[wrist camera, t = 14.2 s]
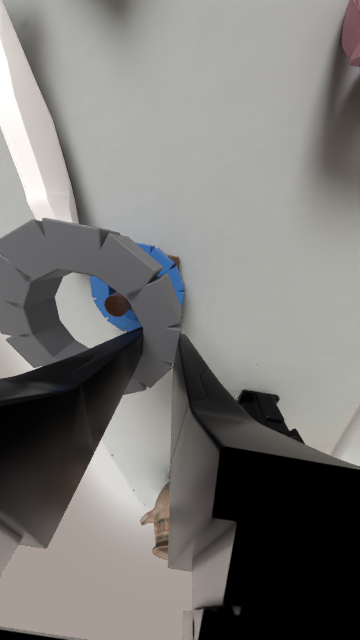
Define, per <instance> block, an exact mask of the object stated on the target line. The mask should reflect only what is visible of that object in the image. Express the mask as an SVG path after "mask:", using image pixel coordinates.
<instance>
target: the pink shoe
mask: <svg viewBox="0 0 360 640" xmlns="http://www.w3.org/2000/svg"><path fill="white" fill-rule="evenodd" d="M342 46H343V49H344V51H345V53H346V55H347V56H348V58H349V59H350V62H349V64H350V65H353V66H358V67H360V0H350V1H349V4H348V7H347V10H346V14H345V18H344V23H343V29H342Z"/></svg>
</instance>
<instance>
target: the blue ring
mask: <svg viewBox="0 0 360 640" xmlns="http://www.w3.org/2000/svg"><path fill="white" fill-rule="evenodd" d="M136 244H137V245H138V246H139V247H140V248H142V249H143V250H144V251H145V252H146V253H147V254H149V255H150V256H151V257H152V258H153V259H155V260H156V261H157V262H158V263H159V264H160V265H162V266H163V269H162V270H161V272H160V273H159V274H158V277H159V276H161V275H164V274H166V273H168V275H169V277H170V280H171V282H172V285H173V288H174V290H175V293H176V295H177V298H178V300H179V303H180V305H181V308H182V303H183V297H184V291H185V289H184V283H183V280H182V277H181V274H180V272H179V269H178V266H175V267H173V265H174V264H175V262H174V261H173V260H171V259H170V258H169V257H168V256H167V255H166V254H165V253H163V252H162V251H161V250H160V249H159V248H155V246H150V245H144V244H139V243H136ZM172 267H173V268H172ZM90 280H91V289H92V297H93V298H98V299H96V300H94V302H95V304H96V305H97V307H98V308H99V310H100V311H101V313H102V315H103V316H104V318H106V317H109V316H110V317H109V318H108V320H107V321H109V322H110V323H112V324H113V325H115V326H116V327H118V328H119V329H121V330H122V331H125V329H126V328H127V332H129V331H132V330H134V329H136V328H139V327H142V325H141V323H140V322H139V320H138V318H137V316H136V314H135V313H134V312H132V311H131V310H129V311H128V312H127V313H125V314H124V315H123V316H121V317H114V316H112V315H110V314H109V313H108V312H107V311H106V309H105V306H104V302H105V299H106V298H107V297H109V296H110V295H112V294H114V293H116V292H117V291H115V290H114V289H113V288H111V287H110V286H109V285H107V284H106V283H105V282H103V281H102V280H100V279H99V278H98V277H96V276H91V277H90Z"/></svg>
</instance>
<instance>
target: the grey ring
mask: <svg viewBox="0 0 360 640" xmlns="http://www.w3.org/2000/svg"><path fill="white" fill-rule="evenodd" d="M162 269H163V266H162V265H160V264H159V263H158V262H157V261H156V260H155V259H153V258H152V257H151V256H150V255H149V254H147V253H146V252H145V251H144V250H143V249H142V248H140V247H139V246H138V245H137V244H136V243H135V242H133V241H132V240H131V239H130V238H129V237H125V236H121V235H120V233H118V232H114V231H110V230H106V229H102V228H98V227H93V226H88V225H82V224H77V223H71V222H66V221H60V220H55V219H49V218H42V221H39V220H33V219H32V220H30V221H29V222H27V223H25V224H24V225H22V226H20V227H19V228H17V229H15V230H14V231H12V232H10V233H9V234H7V235H5V236H4V237H2V238H0V332H1V333H2V334H6V335H11V337H9V338H7V339H6V341H7V342H8V343H9V344H10V345H12V347H13V348H14V349H15V350H16V351H17V352H18V353H19V354H20V355H21V356H22V357H23V358H24V359H25V360H26V361H27V362H28V363H30V365H31V366H33V367H34V368H36V367H39V366H42V367H43V366H46V365H49V364H52V363H54V362H57V361H60V360H63V359H65V358H68V357H71V356H73V355H76V354H78V353H81V352H83V351H86V350H88V349H89V348H87V347H86V346H84V345H83V344H81V343H79V342H78V341H76V340H75V339H74V338H73V337H72V335H71V334H70V333H69V332H68V330H67V329H66V328H65V326H64V325H63V324H62V323H61V321H60V319H59V315H58V310H57V306H56V301H55V295H56V293H57V290H58V288H59V285H60V283H61V281H62V278H63V276H65V275H67V274H70V273H72V272H75V273H81V274H86V275H92V276H96V277H98V278H99V279H100V280H102V281H103V282H105V283H106V284H107V285H109V286H110V287H111V288H113V289H114V290H115V291H117V292H118V293H120V294H121V295H122V296H124V297H125V298H126V299H128V301H129V303H130V305H131V307H132V309H133V310H134V312H135V314H136V316H137V318H138V320H139V322H140V323H141V325H142V327H143V346H142V355H141V358H140V361H139V364H138V366H137V368H136V370H135V372H134V374H133V376H132V378H131V380H130V382H129V384H128V386H127V388H126V390H125V392H124V394H123V395H125V394H130V393H135V392H139V391H144V390H146V387H149V388H151V387H152V386H153V385H154V384H155V383H156V382H157V381H158V380H159V379H160V378H162V377H163V376H164V375H165V374H166V373H167V372H168V371H169V370H170V369H171V368H172V364H174V359H175V354H176V349H177V344H178V339H179V338H180V333H181V326H182V318H183V316H182V315H181V313H182V308H181V305H180V303H179V300H178V298H177V295H176V293H175V290H174V288H173V285H172V282H171V280H170V277H169V275H168V273H166V274H164V275H161V276H159V277H157V276H158V274H159V273H160V272H161V270H162Z"/></svg>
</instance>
